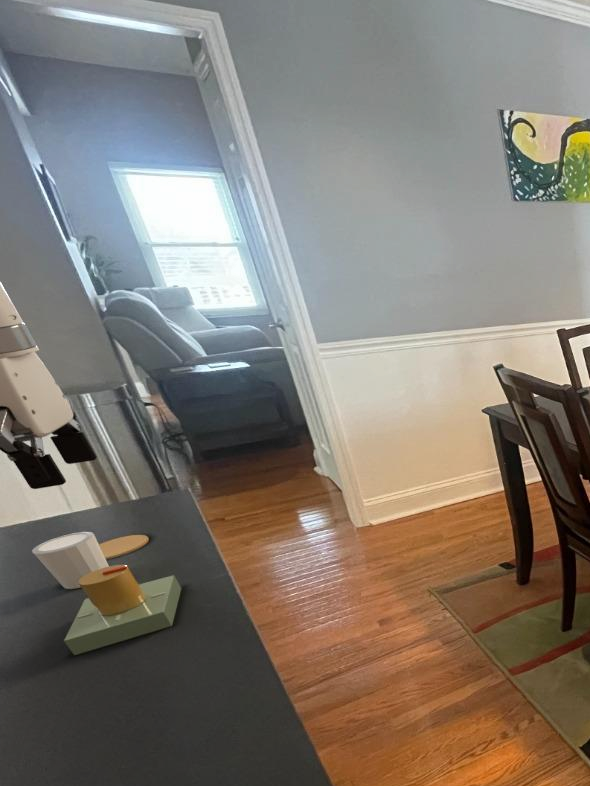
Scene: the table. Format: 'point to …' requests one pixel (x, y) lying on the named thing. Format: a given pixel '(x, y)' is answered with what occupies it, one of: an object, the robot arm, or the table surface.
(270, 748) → the table surface
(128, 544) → the coaster
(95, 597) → the tap handle
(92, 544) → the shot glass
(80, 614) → the base
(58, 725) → the table surface
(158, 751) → the table surface
